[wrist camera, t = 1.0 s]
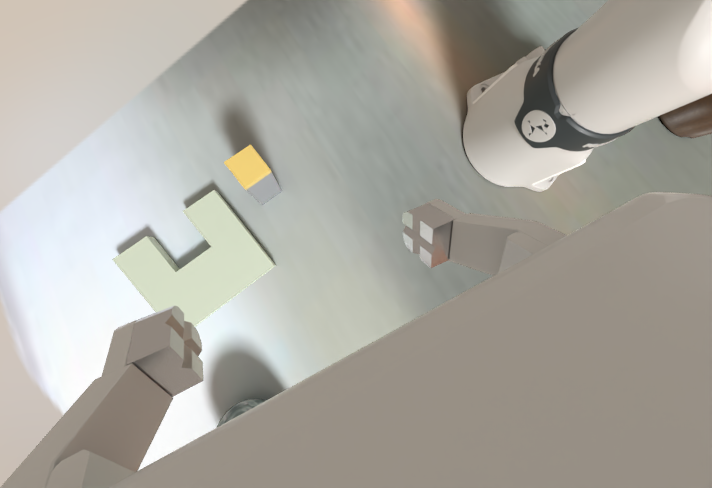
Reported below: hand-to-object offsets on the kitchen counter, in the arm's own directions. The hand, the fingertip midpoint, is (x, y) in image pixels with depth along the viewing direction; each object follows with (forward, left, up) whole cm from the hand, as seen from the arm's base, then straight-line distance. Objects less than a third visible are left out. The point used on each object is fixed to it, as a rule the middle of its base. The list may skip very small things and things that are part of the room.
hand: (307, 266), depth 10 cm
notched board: (+11, -9, -28) cm, 31 cm away
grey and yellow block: (-1, -12, -28) cm, 30 cm away
